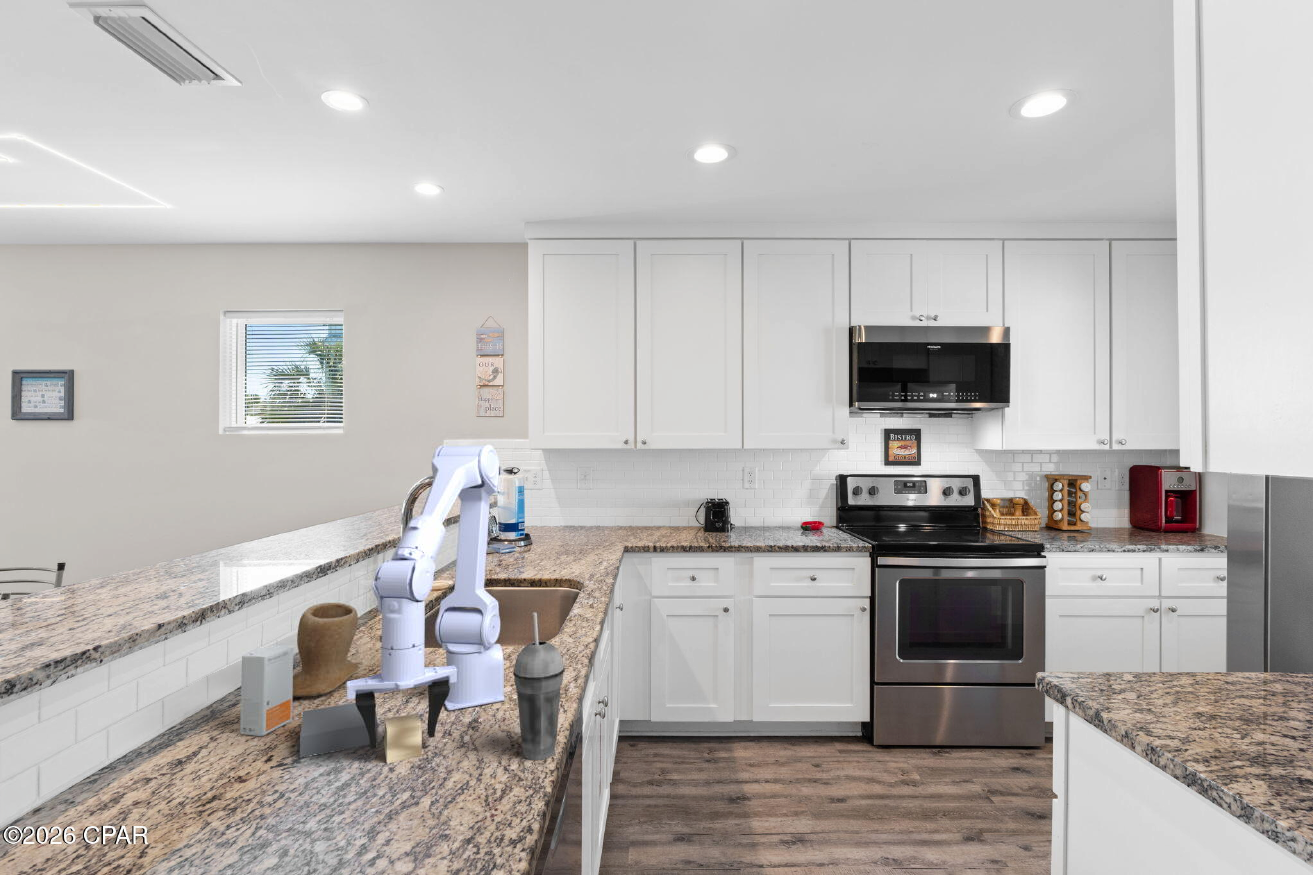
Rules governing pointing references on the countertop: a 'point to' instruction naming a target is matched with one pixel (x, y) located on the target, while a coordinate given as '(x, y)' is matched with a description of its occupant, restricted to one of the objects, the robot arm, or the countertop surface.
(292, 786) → the countertop surface
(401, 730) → the maple cube
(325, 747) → the base block
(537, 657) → the beverage cup
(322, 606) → the stone cup
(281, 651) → the skincare box
